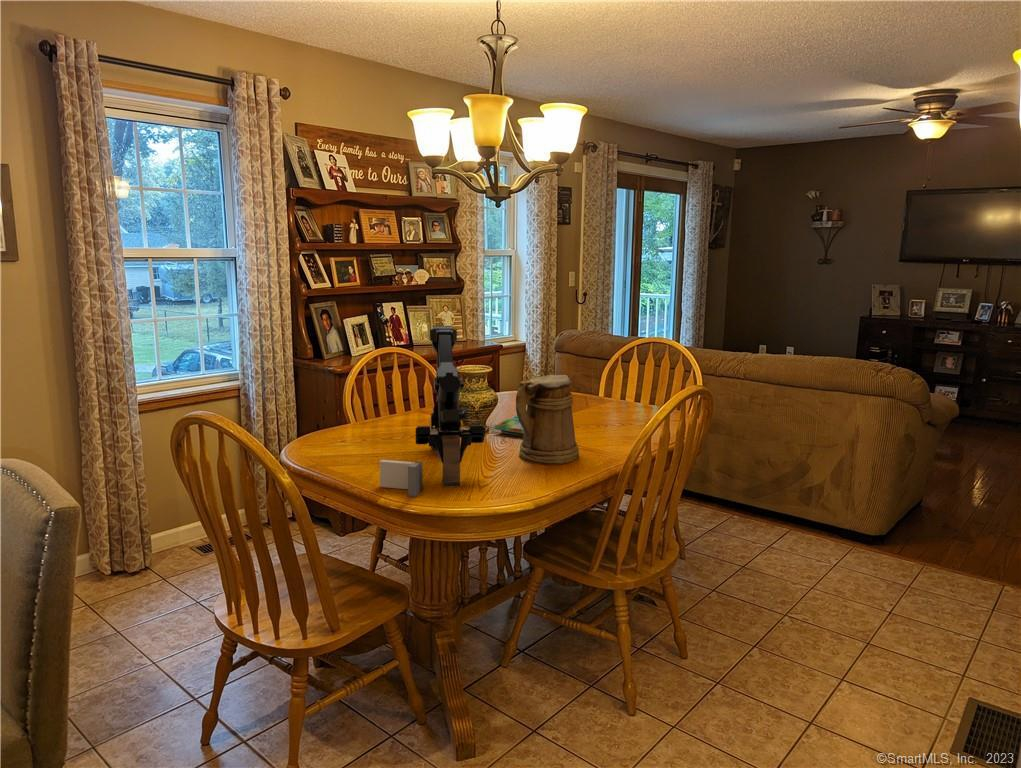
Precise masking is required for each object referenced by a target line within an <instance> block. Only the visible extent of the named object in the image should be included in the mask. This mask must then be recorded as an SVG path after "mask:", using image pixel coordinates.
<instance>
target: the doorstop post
mask: <svg viewBox="0 0 1021 768" xmlns="http://www.w3.org/2000/svg"><path fill="white" fill-rule="evenodd" d="M460 444H461V437H459V435H446V436H443V463H442V479H441V480H442V481H441V482H442V485H443V486H442V487H443V488H451V487H450V486H460V487H461V463H460Z"/></svg>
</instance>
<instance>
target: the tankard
mask: <svg viewBox="0 0 1021 768" xmlns="http://www.w3.org/2000/svg"><path fill="white" fill-rule="evenodd" d="M571 384H572V382H571V380H570V378H569V376H568V375H567V374H550V375H549V374H548V375H543V376H542V375H541V376H538V377H534V378H530V379H529V380H527V381H520V382H519V385H518V387H517V391H516V395H515V410H516V415H517V416H518V419H519V421H520V423H521V425H522V427H523V429H524V435H523V436H522V441H521V442H520V444H519V448H520V449H519V452H518V455H519V457H520V458H522V459H523V460H524V461H527V462H530V463H532V464H536V463H537V465H542V466H544V465H545V466H547V465H549V466H550V465H551V466H552V465H553V466H556V465H563V464H568V463H571V462H573V461H575V460H576V459H577V458H578V457H579V456H580V452H579V451H580V449H579V445H578V443H577V439H576V434H575V433H576V432H575V426H574V425H575V424H574V416H573V409H572V406H573V404H574V400H573V394H572V392H571V391H570V385H571Z"/></svg>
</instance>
